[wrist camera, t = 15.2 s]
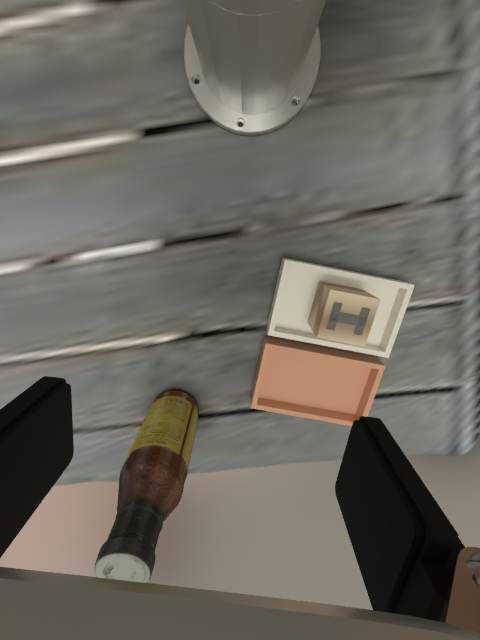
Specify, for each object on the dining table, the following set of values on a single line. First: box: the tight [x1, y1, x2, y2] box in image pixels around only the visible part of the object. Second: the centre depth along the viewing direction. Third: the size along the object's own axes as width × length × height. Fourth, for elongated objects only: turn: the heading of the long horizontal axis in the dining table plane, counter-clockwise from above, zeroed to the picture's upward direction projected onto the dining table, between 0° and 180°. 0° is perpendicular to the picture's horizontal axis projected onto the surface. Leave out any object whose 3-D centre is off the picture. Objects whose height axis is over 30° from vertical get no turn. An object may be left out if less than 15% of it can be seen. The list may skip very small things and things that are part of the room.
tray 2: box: [251, 336, 385, 426], centre depth 38 cm, size 8×14×2 cm, turn 79°
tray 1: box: [266, 257, 415, 358], centre depth 35 cm, size 8×14×2 cm, turn 79°
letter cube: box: [307, 281, 381, 347], centre depth 33 cm, size 5×5×5 cm
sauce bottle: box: [95, 390, 199, 583], centre depth 31 cm, size 6×6×20 cm
